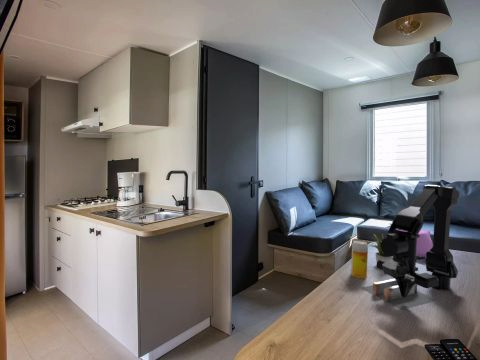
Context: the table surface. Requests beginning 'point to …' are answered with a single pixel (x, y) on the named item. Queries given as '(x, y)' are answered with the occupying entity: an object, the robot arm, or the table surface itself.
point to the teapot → (423, 243)
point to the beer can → (359, 259)
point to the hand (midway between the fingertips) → (403, 296)
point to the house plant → (380, 254)
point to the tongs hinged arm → (396, 292)
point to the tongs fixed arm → (383, 286)
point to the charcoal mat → (404, 299)
